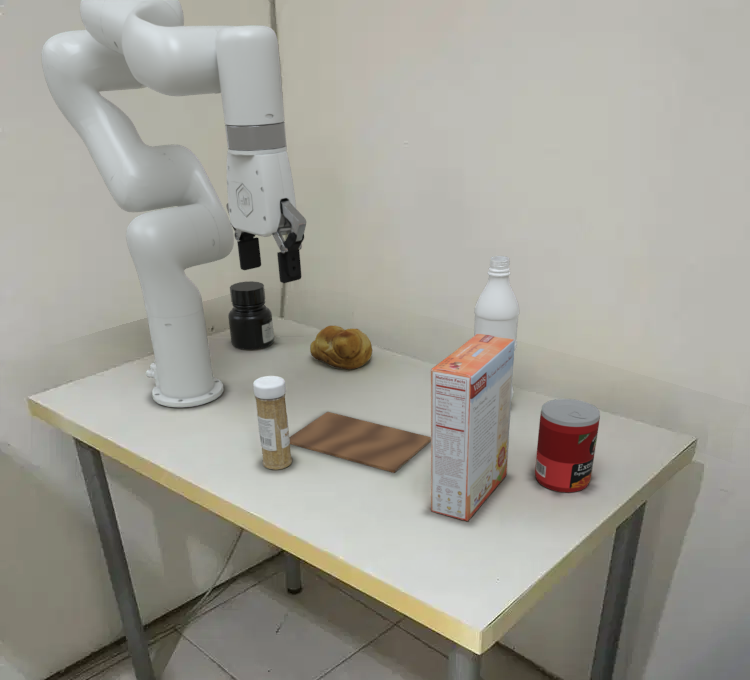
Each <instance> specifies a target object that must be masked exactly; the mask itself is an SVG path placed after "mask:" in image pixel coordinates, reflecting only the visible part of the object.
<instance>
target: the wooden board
mask: <svg viewBox="0 0 750 680" xmlns="http://www.w3.org/2000/svg"><path fill="white" fill-rule="evenodd" d="M289 438H290V445H292V446H295V447H299V448H302V449H306V450H311V451H314V452H317V453H319V454H320V453H321V454H323V455H328V456H332V457H335V458H339V459H343V460H345V461H350V462H353V463H357V464H361V465H364V466H368V467H371V468H374V469H379V470H382V471H386V472H389V473H392V474H395V473H396V472H397V471H399V470H400V469H401V468H402V467H403V466H404V465H406V464H407V463H408V462H409V461H410V460H412V458H414V456H416V455H417V454H418V453H419V452H421V450H422V449H424V448H425V447H426V446H427V445H429V443H431V436H428V435H423V434H420V433H415V432H412V431H408V430H403V429H400V428H395V427H391V426H387V425H383V424H380V423H375V422H371V421H367V420H363V419H359V418H355V417H350V416H347V415H343V414H338V413H334V412H331V411H326V412H325V413H323V414H322V415H320V416H318V417H317V418H316V419H314V420H312V421H311V422H310V423H308V424H307V425H305V426H304V427H302V428H301V429H300V430H298V431H296V432H295V433H293V434H292V435H290V436H289Z"/></svg>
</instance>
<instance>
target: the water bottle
mask: <svg viewBox="0 0 750 680" xmlns="http://www.w3.org/2000/svg"><path fill="white" fill-rule="evenodd" d="M510 262H511V261H510V257H509V256H504V255H494V256H491V257H490V259H489V268H488V271H487V275H488V278H487V282H486V285H485V286H484V288H483V289H482V291H481V292H480V294H479V297H477V298H478V299H477V300H476V302H475V306H474V312H473V313H474V325H473V336H475V335H476V334H484V335H490V336H494V337H501V338H508V339H514V340H515V346H514V352H515V351H516V349H517V348H518V347H517V346H518V340H517V339H518V328H519V327H518V326H519V325H518V324H519V315H520V305H519V301H518V299H517V296H516V294H515V292H514V290H513V288H512V285H511V282H510V276H511V273H512V272H511V271H510V270H511V268H510V264H511V263H510ZM513 396H514V387H513V385H512V395H511V401H512V399H513Z"/></svg>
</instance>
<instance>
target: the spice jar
mask: <svg viewBox="0 0 750 680" xmlns="http://www.w3.org/2000/svg"><path fill="white" fill-rule="evenodd" d="M252 385H253V386H252V387H253V395H254V398H255V402H256V403H255V404H256V412H257V413H256V416H257V425H258V433H259V442H260V447H261V454H262V462H261V463H262V465H263V467H265V468H267V469H270V470H274V471H277V470H282V469H286V468H288V467H289V466H291V464H292V462H293V458H292V454H291V453H292V452H291V444H290V438H289V437H290V431H289V430H290V429H289V420H288V413H287V402H286V393H287V386H286V380H285V379H284V378H283V377H281V376H279V375H278V376H277V375H266V376H260V377H257V379H255V380H254V381H253V383H252Z"/></svg>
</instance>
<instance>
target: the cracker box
mask: <svg viewBox="0 0 750 680" xmlns="http://www.w3.org/2000/svg"><path fill="white" fill-rule="evenodd" d="M514 346H515V340H514V339H508V338H501V337H494V336H490V335H484V334H476V335H475V336H474V335H473V336H472V337H471V338H470V339H468V340H467V341H466V342H465V343H463V344H462V345H460V347H458V348H457V349H455V350H454V351H453V352H452V353H450V354H449V355H448V356H446V357H445V358H444V359H442V360H441V361H440V362H438V363H437V364H436V365H435V366H433V367H432V368H431V369H430V437H431V442H430V511H431V512H432V513H436V514H440V515H443V516H447V517H450V518H454V519H458V520H461V521H465V522H469V520H470V519H471V518H472V517H473V516H474V515H475V513H476V512H477V511H478V510H479V508H481V506H482V505H483V504H484V502H485V501H486V500H487V499H488V498H489V497H490V496H491V494H492V493H493V492H494V491H495V490H496V488H497V487H498V486H499V484H500V483H501V482H502V481H503V480H504V479H505V477H506V476H507V473H508V458H509V442H510V425H511V409H512V400H511V395H512V386H513V379H514V378H513V377H514V362H515V361H514V360H515V351H514Z"/></svg>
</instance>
